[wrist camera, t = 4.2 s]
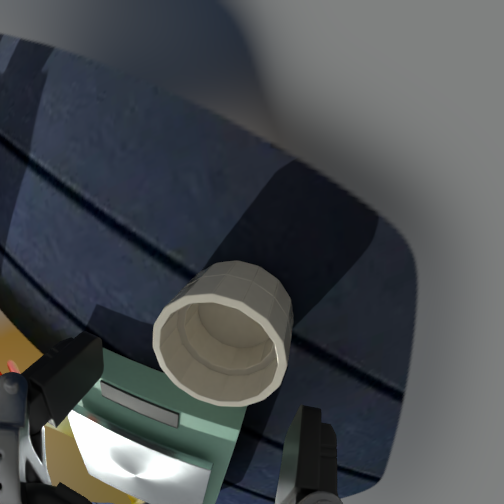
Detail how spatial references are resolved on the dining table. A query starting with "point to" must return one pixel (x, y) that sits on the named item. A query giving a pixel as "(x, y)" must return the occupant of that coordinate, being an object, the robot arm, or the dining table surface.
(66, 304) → the dining table surface
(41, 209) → the dining table surface
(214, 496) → the scale
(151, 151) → the dining table surface
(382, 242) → the dining table surface
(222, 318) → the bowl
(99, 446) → the scale pan
